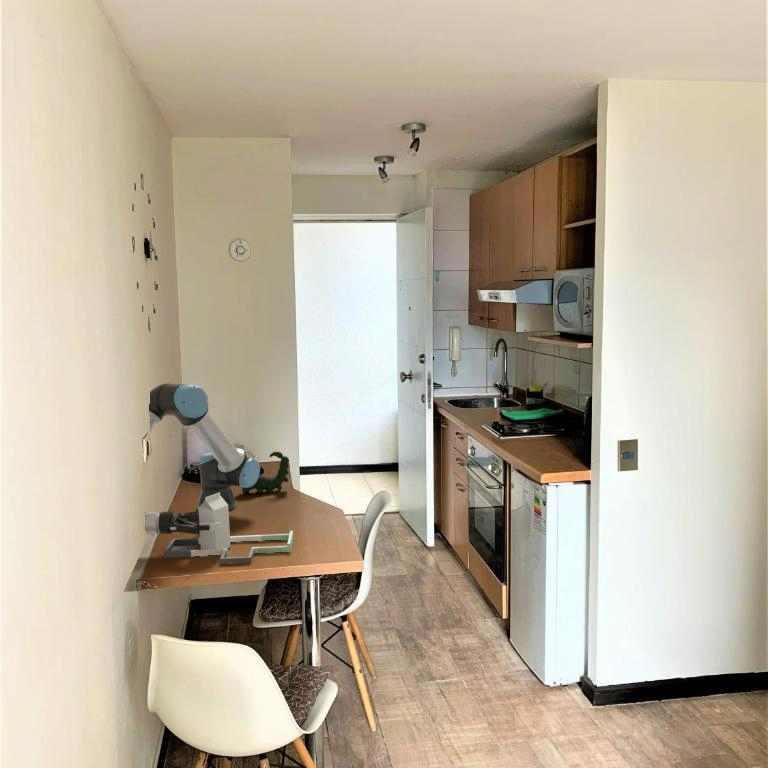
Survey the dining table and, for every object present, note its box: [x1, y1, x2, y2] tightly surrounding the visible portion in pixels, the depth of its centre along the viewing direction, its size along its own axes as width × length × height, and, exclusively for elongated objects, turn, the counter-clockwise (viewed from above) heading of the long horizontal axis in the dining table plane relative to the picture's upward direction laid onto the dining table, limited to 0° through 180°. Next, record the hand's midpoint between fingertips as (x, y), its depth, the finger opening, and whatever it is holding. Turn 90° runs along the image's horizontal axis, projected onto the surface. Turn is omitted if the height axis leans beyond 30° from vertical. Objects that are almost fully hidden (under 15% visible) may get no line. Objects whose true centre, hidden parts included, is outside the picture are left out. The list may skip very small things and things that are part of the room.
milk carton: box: [198, 493, 231, 550], centre depth 262 cm, size 7×7×19 cm
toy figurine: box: [240, 451, 290, 495], centre depth 336 cm, size 9×19×25 cm
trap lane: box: [162, 530, 294, 565], centre depth 259 cm, size 23×42×3 cm, turn 93°
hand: (223, 520), depth 262 cm, fingers open, 13 cm apart
